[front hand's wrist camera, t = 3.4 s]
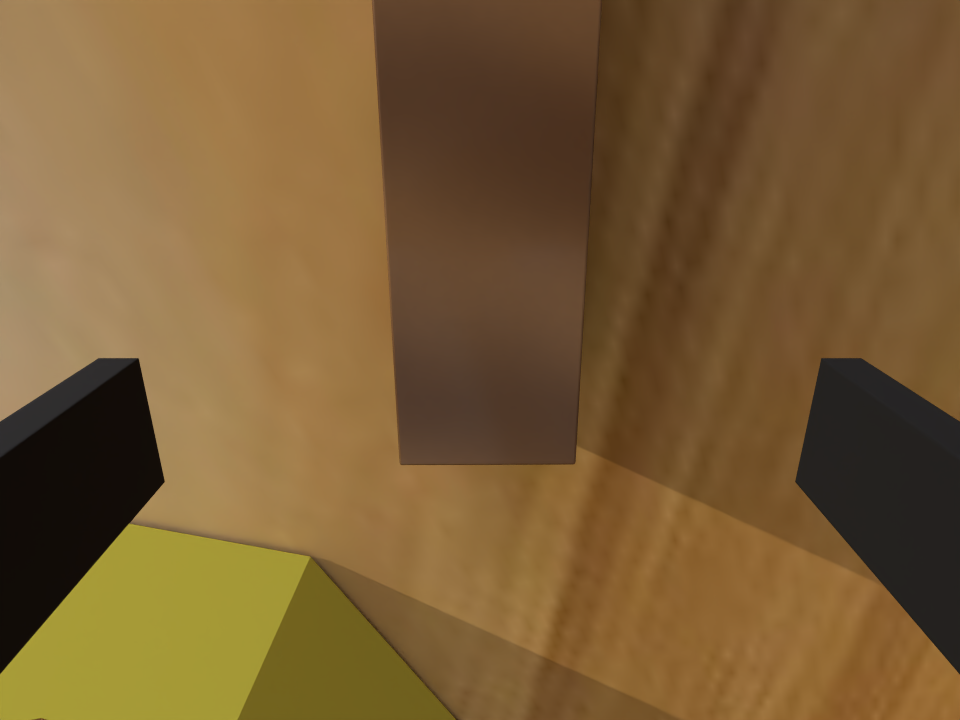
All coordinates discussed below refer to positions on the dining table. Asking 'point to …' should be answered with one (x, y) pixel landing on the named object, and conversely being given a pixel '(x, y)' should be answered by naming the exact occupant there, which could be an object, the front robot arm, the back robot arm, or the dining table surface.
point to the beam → (487, 221)
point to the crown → (209, 642)
